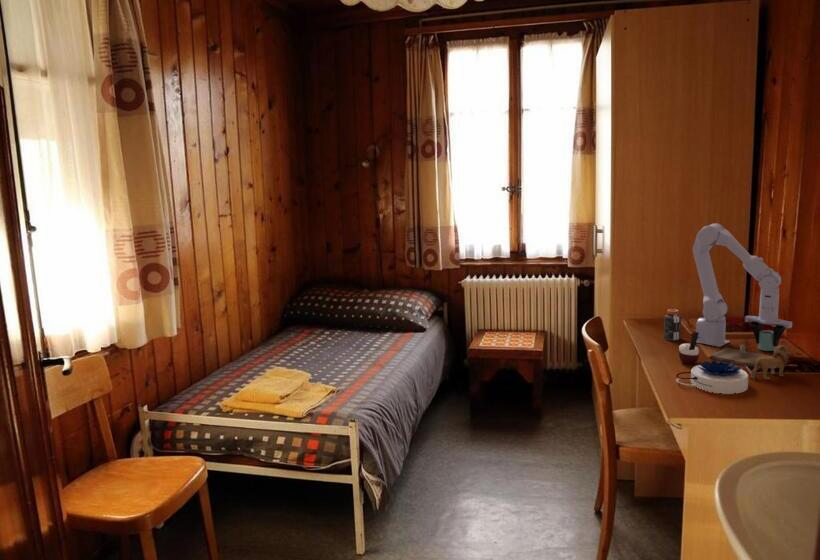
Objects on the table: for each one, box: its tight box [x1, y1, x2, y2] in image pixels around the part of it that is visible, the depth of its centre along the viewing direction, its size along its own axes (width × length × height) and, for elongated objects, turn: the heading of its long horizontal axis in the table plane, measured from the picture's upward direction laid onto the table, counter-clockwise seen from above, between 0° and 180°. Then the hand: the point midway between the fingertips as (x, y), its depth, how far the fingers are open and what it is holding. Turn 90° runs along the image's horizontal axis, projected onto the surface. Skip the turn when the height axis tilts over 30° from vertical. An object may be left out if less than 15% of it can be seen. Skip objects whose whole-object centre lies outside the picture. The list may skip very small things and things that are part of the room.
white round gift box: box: [675, 359, 749, 395], centre depth 186 cm, size 7×16×20 cm
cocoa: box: [678, 331, 700, 365], centre depth 206 cm, size 10×6×12 cm
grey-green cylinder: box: [757, 330, 775, 352], centre depth 214 cm, size 5×5×6 cm
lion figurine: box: [750, 344, 789, 380], centre depth 190 cm, size 15×5×9 cm, turn 117°
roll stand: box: [709, 344, 773, 369], centre depth 207 cm, size 16×12×5 cm
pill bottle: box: [663, 308, 682, 341], centre depth 234 cm, size 6×6×11 cm
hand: (766, 344), depth 215 cm, fingers closed on grey-green cylinder, 5 cm apart
